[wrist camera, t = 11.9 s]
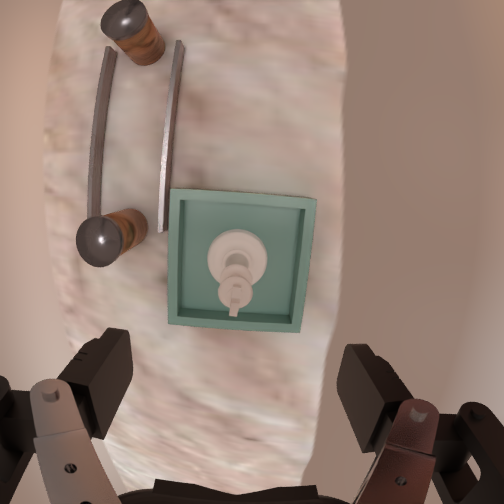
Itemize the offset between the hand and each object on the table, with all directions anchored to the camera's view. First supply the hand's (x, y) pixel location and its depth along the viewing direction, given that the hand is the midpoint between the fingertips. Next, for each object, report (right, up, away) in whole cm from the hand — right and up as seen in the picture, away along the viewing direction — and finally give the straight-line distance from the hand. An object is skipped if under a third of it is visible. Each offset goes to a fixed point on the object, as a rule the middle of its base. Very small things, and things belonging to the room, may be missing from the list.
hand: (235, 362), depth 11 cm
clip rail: (-9, +14, +13) cm, 21 cm away
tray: (-1, +3, +16) cm, 16 cm away
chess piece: (-1, +3, +15) cm, 16 cm away
